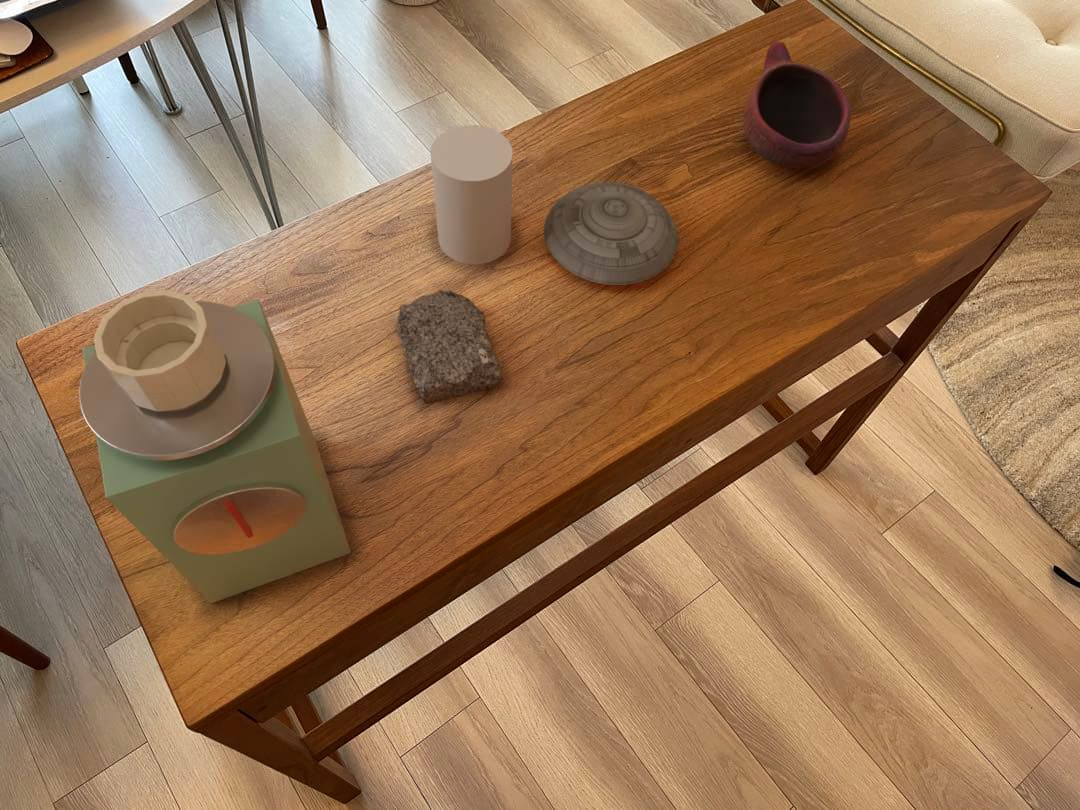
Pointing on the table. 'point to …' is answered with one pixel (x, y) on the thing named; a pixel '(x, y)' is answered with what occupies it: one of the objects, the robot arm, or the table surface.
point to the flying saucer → (611, 234)
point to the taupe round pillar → (472, 193)
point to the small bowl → (160, 350)
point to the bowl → (795, 112)
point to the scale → (220, 466)
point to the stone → (447, 346)
